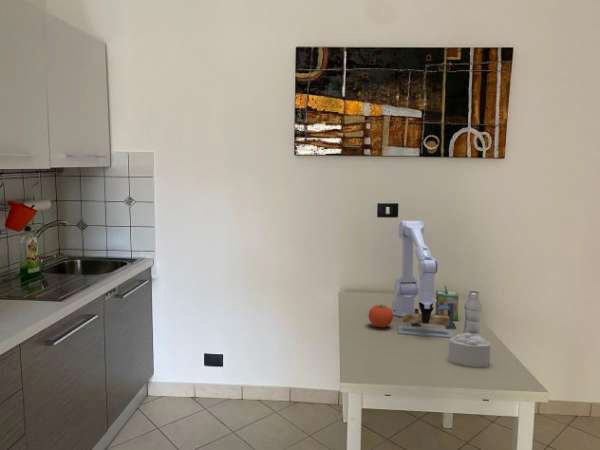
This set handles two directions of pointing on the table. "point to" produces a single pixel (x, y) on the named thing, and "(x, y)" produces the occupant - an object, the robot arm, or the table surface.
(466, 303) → the plastic bottle
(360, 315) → the table surface
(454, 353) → the lumpy-topped squat cylinder
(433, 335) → the mat
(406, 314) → the wavy strip
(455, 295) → the chalk box
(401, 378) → the table surface
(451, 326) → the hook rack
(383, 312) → the tomato
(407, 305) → the robot arm
